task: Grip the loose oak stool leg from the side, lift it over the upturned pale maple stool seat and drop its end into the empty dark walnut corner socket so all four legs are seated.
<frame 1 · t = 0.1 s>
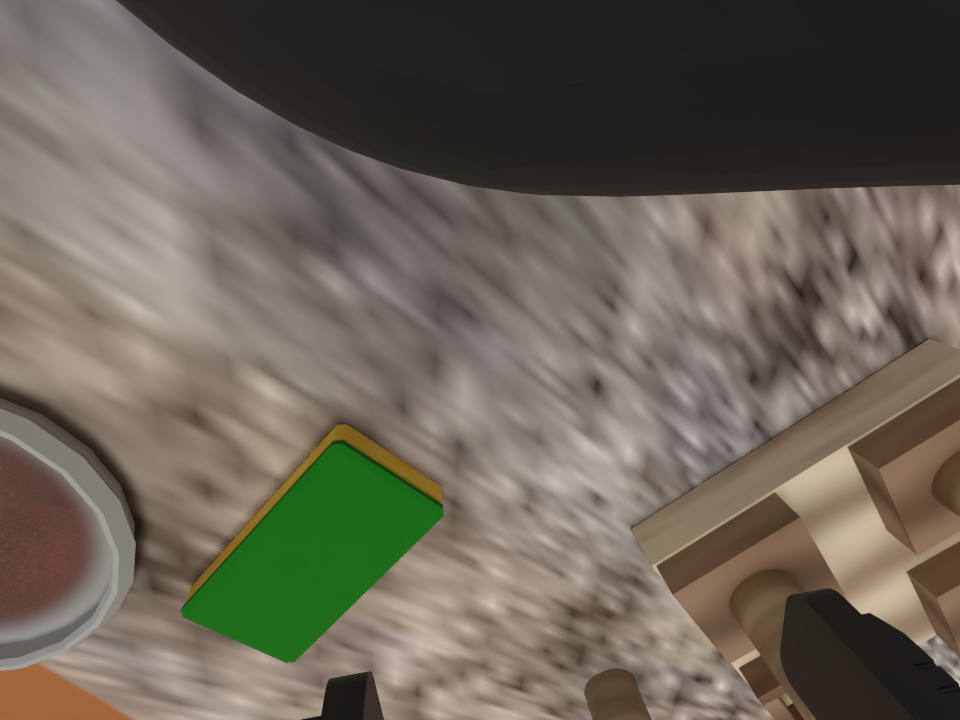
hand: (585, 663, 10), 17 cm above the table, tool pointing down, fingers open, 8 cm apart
dish sponge: (319, 530, 30), on the table
stool seat: (827, 536, 34), on the table
stool leg: (609, 687, 38), on the table
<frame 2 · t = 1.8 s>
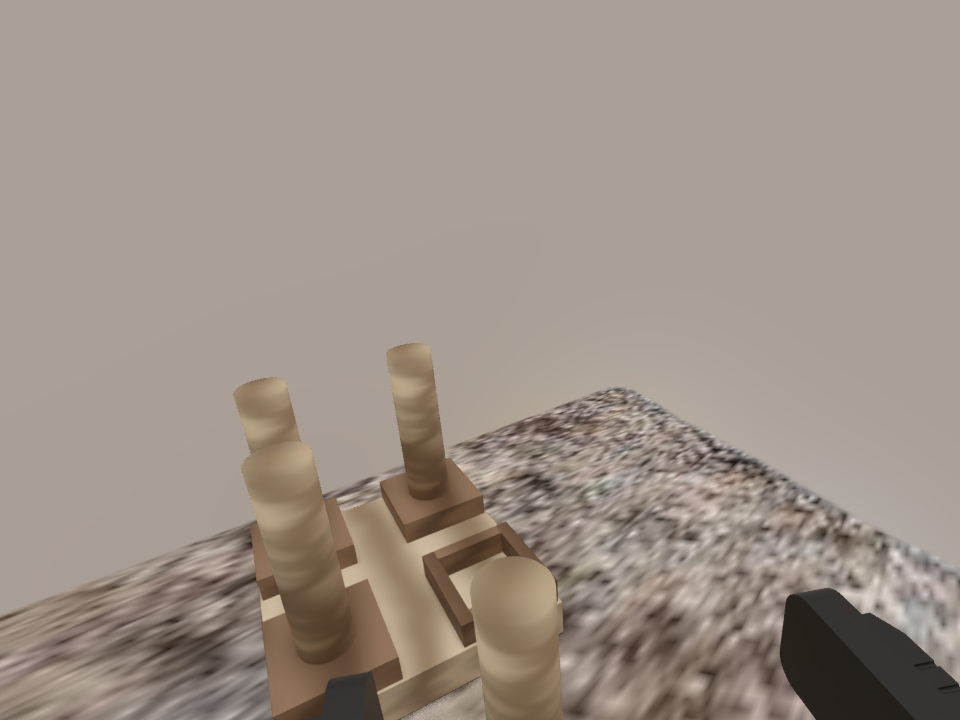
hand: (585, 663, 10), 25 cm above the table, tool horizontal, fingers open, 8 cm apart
stool seat: (396, 596, 44), on the table
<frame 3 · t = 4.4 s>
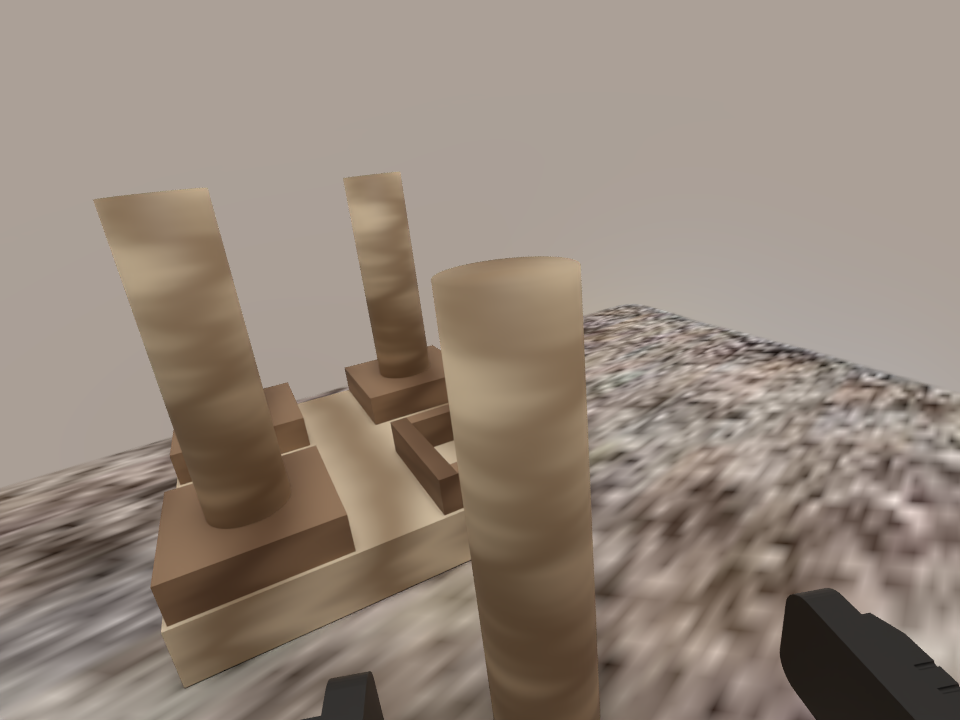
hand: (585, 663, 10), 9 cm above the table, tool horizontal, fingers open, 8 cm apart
stool seat: (360, 488, 34), on the table
stool leg: (546, 710, 19), on the table
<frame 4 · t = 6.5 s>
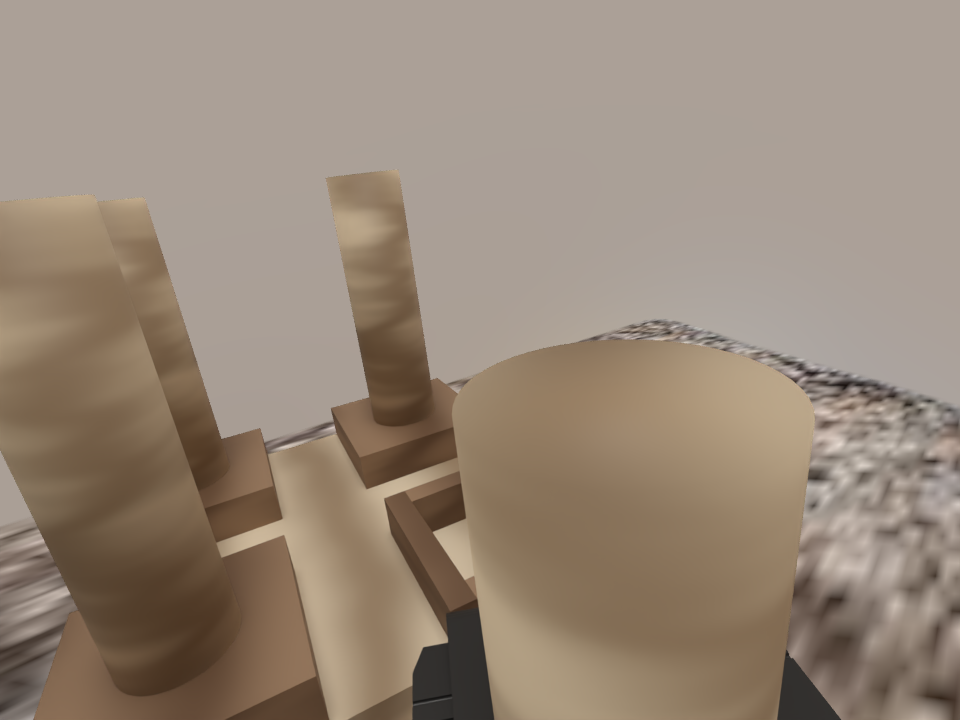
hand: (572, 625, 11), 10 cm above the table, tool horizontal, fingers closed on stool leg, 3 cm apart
stool seat: (346, 574, 26), on the table
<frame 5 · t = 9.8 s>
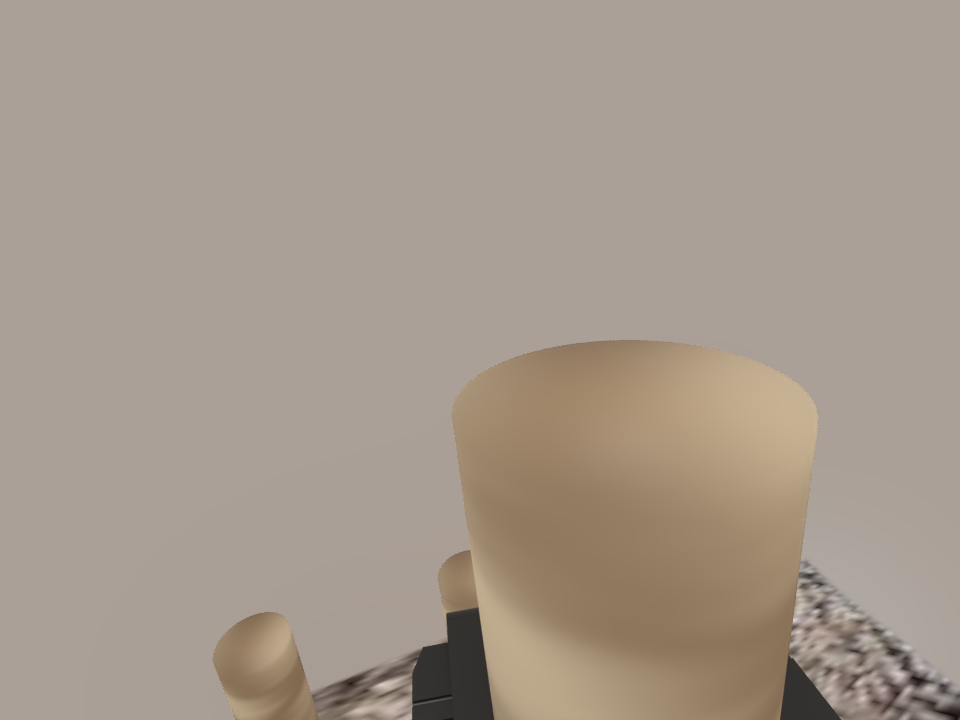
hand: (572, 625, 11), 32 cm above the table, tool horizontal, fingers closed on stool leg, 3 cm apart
when the fingers open (13 cm above the table, at t = 13.4 s): stool leg stays where it is, resting on stool seat.
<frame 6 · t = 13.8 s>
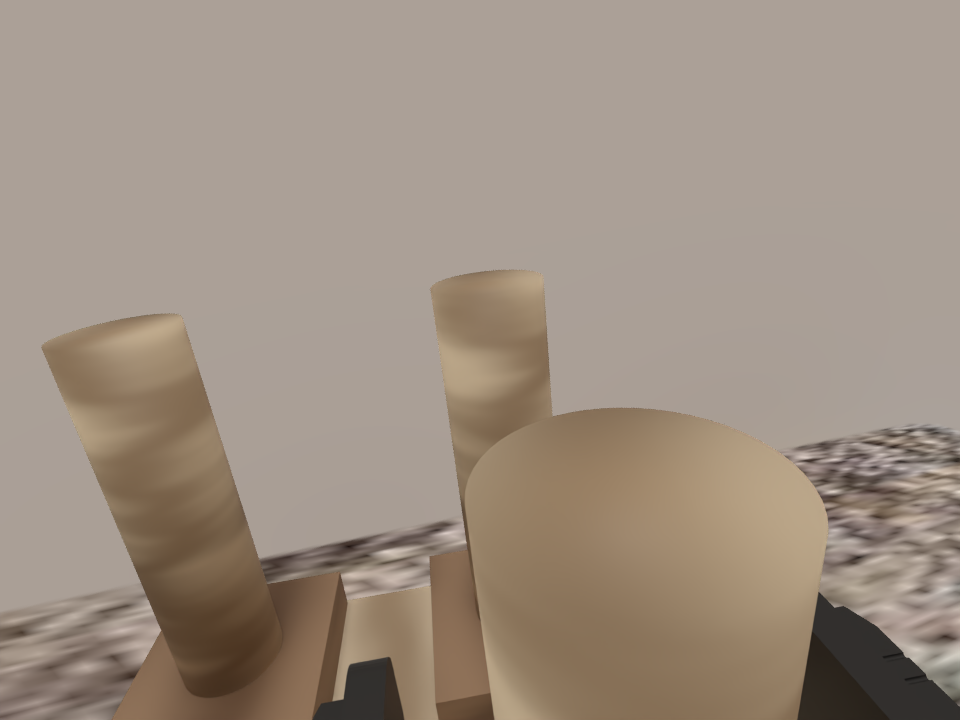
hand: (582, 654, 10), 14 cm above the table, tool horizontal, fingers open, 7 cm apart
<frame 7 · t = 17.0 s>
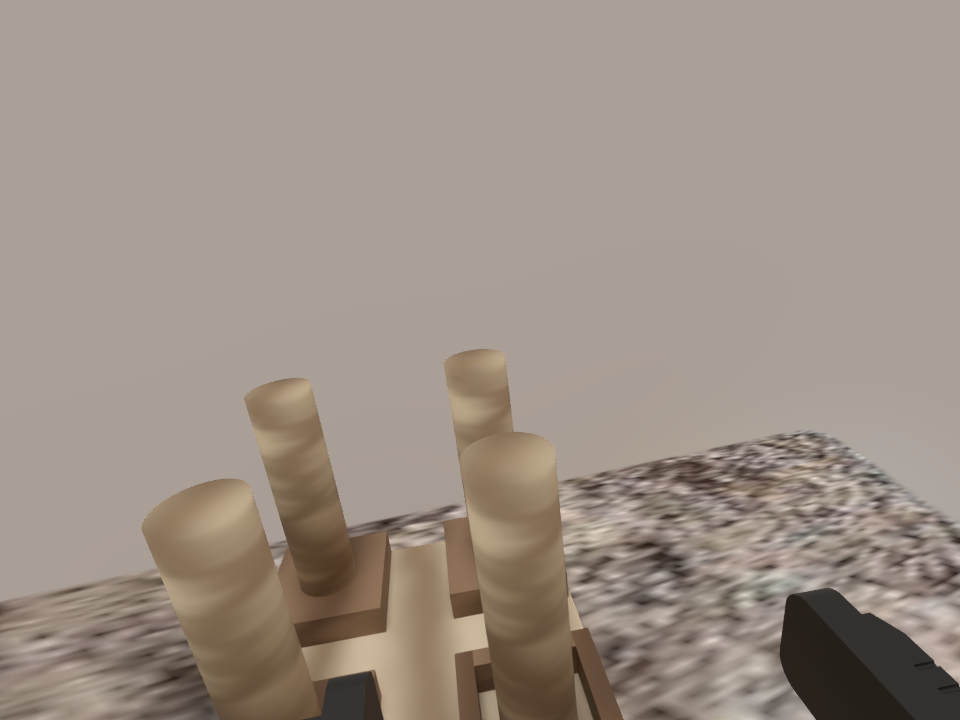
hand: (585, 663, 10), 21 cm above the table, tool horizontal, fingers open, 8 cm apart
stool seat: (428, 690, 32), on the table
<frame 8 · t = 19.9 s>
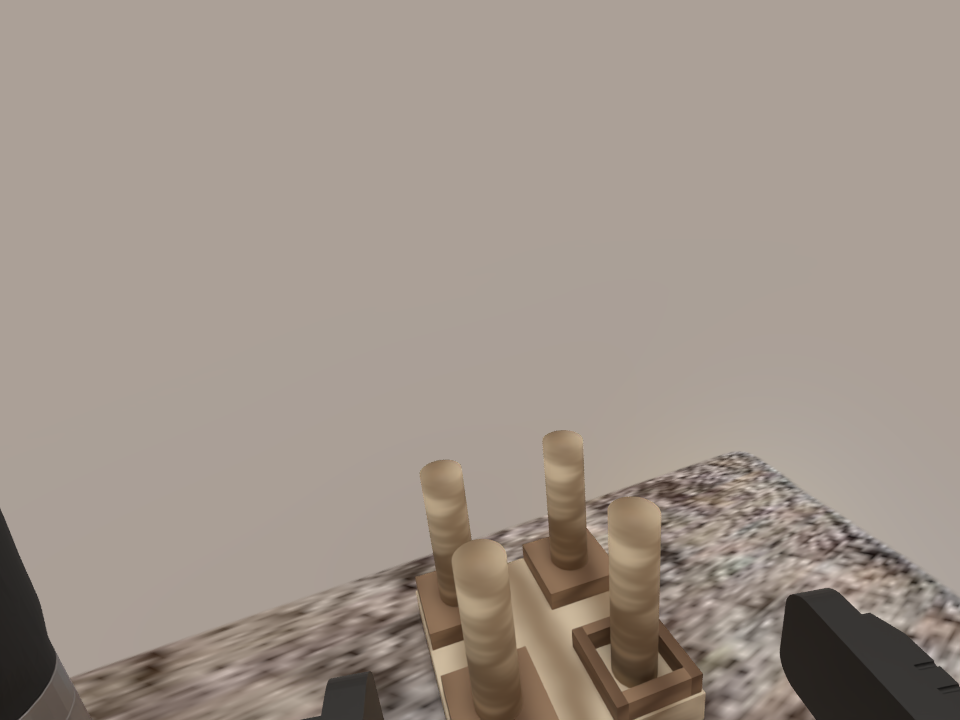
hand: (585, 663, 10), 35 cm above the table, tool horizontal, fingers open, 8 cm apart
stool seat: (542, 658, 49), on the table
stool leg: (634, 668, 44), point 3 cm above the table, touching stool seat
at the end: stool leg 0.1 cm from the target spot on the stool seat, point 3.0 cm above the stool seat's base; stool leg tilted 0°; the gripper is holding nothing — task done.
